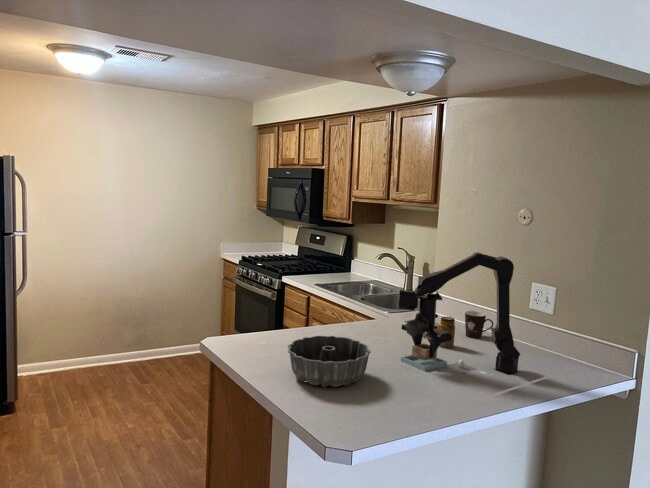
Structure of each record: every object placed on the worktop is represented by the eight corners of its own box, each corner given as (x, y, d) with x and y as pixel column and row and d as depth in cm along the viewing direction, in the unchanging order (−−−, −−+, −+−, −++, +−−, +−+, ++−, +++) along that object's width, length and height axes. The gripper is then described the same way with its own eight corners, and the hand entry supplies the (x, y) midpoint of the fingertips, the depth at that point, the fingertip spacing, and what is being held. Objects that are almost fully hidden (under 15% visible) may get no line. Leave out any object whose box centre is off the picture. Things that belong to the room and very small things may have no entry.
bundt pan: (295, 396, 151) (297, 363, 150) (279, 365, 176) (280, 336, 175) (380, 391, 158) (382, 359, 157) (353, 361, 183) (354, 334, 182)
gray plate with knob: (477, 370, 179) (478, 362, 179) (462, 374, 175) (463, 366, 174) (459, 363, 186) (459, 355, 185) (444, 367, 181) (444, 359, 181)
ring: (436, 357, 182) (437, 348, 181) (424, 360, 178) (425, 350, 178) (423, 352, 187) (424, 343, 186) (411, 355, 183) (412, 345, 183)
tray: (446, 367, 182) (446, 361, 181) (424, 372, 175) (424, 366, 175) (422, 357, 191) (423, 352, 190) (400, 362, 184) (401, 356, 184)
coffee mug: (458, 334, 223) (460, 311, 222) (474, 332, 227) (476, 310, 226) (477, 342, 213) (479, 318, 211) (493, 340, 216) (495, 317, 215)
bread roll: (418, 345, 217) (419, 330, 213) (421, 329, 226) (422, 315, 221) (442, 348, 214) (443, 333, 210) (445, 332, 223) (445, 317, 219)
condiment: (444, 344, 208) (446, 314, 207) (461, 350, 202) (464, 319, 201) (432, 347, 204) (434, 317, 202) (450, 353, 197) (452, 322, 196)
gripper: (391, 307, 183) (389, 350, 185) (431, 320, 168) (428, 367, 170) (414, 304, 190) (411, 346, 192) (454, 316, 175) (451, 361, 177)
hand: (424, 354), depth 182 cm, fingers closed on ring, 6 cm apart
